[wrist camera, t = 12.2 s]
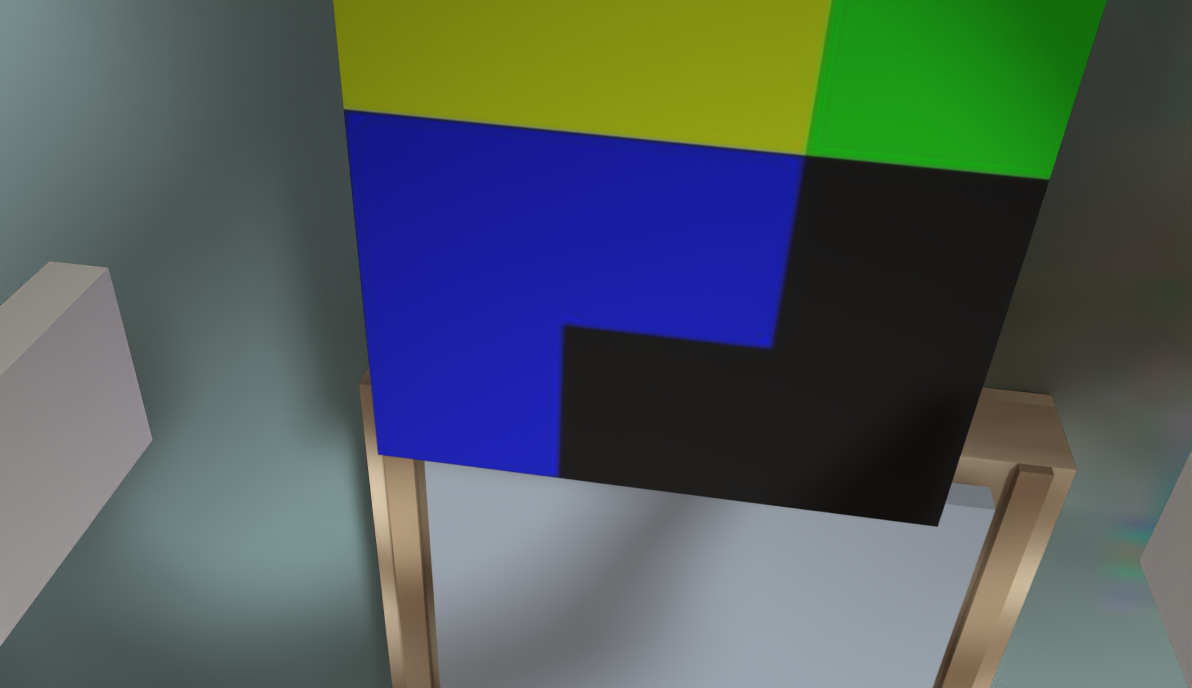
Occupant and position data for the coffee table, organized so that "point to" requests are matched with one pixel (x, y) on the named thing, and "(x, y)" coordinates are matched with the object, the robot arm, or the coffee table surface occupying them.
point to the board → (989, 458)
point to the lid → (686, 587)
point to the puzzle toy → (699, 233)
